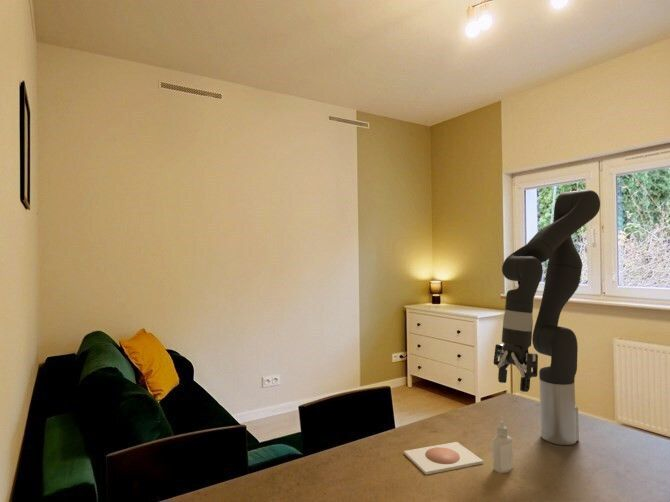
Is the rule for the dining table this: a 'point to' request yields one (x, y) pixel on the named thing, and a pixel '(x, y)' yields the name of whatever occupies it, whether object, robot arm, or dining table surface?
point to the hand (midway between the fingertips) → (512, 386)
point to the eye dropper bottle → (502, 450)
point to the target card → (442, 457)
